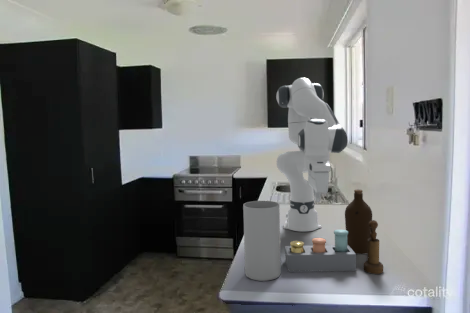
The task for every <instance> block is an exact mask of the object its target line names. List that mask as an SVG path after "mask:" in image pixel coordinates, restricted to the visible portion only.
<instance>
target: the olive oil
mask: <svg viewBox="0 0 470 313" xmlns="http://www.w3.org/2000/svg"><path fill="white" fill-rule="evenodd" d="M353 191H354V193H353V199H352V200H351V202H350V203H349V204H348V205H347V206H346V208H345V211H344V220H345V223H344V225H345V230H346V231H348V235H347V245H349V246H350V248H351V249H352V250H353V251H354V252H355V254H356V255H365V254H366V255H367V251H368V246H367V239H369V238H371V236H370V233H371V229H370V227H369V222H370V221H371V220H373V211H372V209H371V207H370V206H369V205H368V203H367V202H366V201H365V200H364V198H363V196H364V194H363V190H362V189H354V190H353Z"/></svg>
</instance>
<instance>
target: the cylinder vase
mask: <svg viewBox="0 0 470 313" xmlns="http://www.w3.org/2000/svg"><path fill="white" fill-rule="evenodd" d="M280 209H281V208H280V203H279V202H276V201H272V200H253V201H247V202H245V203H243V206H242V210H243V213H242V214H243V238H244V240H243V241H244V244H243V245H244V272H245V275H246V277H247V278H249V279H251V280H254V281H259V282H267V281H272V280H276V279H277V278H279V277H280V275H281V274H282V268H281V264H282V262H281V261H282V260H281V223H280V222H281V219H280V215H281V214H280V213H281V212H280Z"/></svg>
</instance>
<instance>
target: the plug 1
mask: <svg viewBox="0 0 470 313" xmlns="http://www.w3.org/2000/svg"><path fill="white" fill-rule="evenodd" d="M289 246H291V253H303V246H305V241H304V242H303V241H302V240H293V241H292V240H291V241H290V242H289Z"/></svg>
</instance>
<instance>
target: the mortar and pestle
mask: <svg viewBox="0 0 470 313" xmlns="http://www.w3.org/2000/svg"><path fill="white" fill-rule="evenodd" d="M378 226H379V223H378V222H377V220H376V219H374V220H373V219H372V220H371V221H370V222H369V227H370V229H371V233H370V236H371V238H369V239H367V246H368V251H367V254H366V255H367V258H366V259H367V260H365V261H364V262H363V268H362V270H363V271H364V272H366V273H369V274H372V275H373V274H374V275H380V274H383V273H384V264H383V263H382V262H381V261H380V239H378V238H377V235H378V233H377V231H376V229H378Z"/></svg>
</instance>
